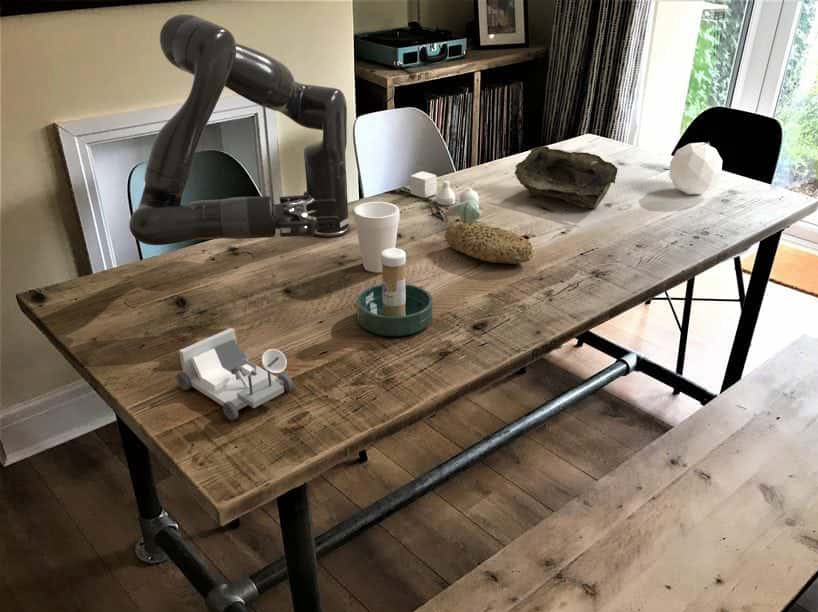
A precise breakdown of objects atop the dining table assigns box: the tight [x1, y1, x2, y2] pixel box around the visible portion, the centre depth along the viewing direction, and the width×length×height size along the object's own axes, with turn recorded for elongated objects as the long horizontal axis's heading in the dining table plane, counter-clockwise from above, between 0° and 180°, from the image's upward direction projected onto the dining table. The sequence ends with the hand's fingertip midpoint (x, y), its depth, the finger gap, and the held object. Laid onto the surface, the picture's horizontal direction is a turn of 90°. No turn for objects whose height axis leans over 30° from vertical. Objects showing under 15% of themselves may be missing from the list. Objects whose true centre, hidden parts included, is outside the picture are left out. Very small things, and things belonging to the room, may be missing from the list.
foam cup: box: [353, 201, 401, 273], centre depth 168 cm, size 10×9×13 cm
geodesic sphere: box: [669, 141, 723, 195], centre depth 215 cm, size 15×14×14 cm
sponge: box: [444, 221, 535, 265], centre depth 176 cm, size 13×8×20 cm
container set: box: [409, 171, 480, 209], centre depth 205 cm, size 20×5×6 cm, turn 54°
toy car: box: [176, 327, 294, 421], centre depth 126 cm, size 18×10×12 cm
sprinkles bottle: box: [381, 247, 407, 317], centre depth 147 cm, size 5×5×14 cm
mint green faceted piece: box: [452, 200, 483, 224], centre depth 191 cm, size 8×4×7 cm, turn 56°
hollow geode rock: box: [514, 145, 619, 210], centre depth 207 cm, size 28×13×15 cm
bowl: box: [356, 283, 434, 337], centre depth 150 cm, size 14×14×4 cm
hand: (336, 213), depth 147 cm, fingers open, 8 cm apart
